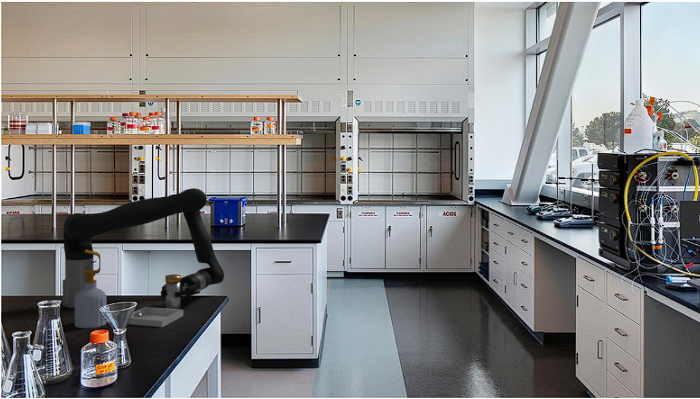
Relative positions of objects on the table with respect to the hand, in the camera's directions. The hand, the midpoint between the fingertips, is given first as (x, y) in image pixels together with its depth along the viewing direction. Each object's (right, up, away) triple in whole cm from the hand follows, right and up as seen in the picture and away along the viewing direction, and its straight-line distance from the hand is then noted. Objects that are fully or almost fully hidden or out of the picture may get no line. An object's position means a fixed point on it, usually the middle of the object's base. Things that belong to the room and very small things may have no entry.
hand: (169, 294), depth 198 cm
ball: (-6, -7, -13) cm, 15 cm away
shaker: (0, -7, +3) cm, 7 cm away
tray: (-2, -8, -10) cm, 12 cm away
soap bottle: (-20, -8, -17) cm, 27 cm away
